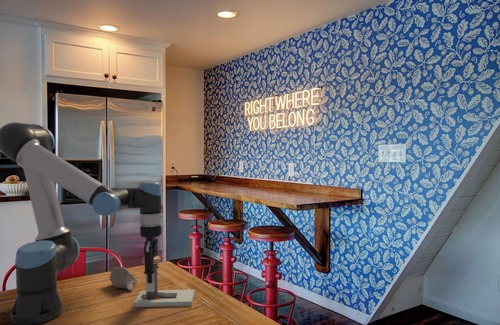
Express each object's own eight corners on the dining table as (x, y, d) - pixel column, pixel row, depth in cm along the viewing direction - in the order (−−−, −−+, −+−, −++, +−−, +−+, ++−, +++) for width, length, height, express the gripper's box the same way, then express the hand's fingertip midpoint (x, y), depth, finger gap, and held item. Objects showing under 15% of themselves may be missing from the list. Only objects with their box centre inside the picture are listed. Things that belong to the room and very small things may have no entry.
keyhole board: (133, 307, 136) (133, 302, 136) (141, 294, 148) (141, 290, 148) (191, 305, 137) (191, 301, 137) (194, 293, 149) (194, 289, 149)
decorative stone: (124, 293, 149) (123, 272, 149) (107, 284, 160) (107, 264, 160) (143, 288, 155) (143, 267, 155) (126, 279, 165) (126, 260, 165)
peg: (141, 301, 139) (140, 260, 139) (144, 294, 145) (144, 255, 145) (159, 300, 139) (158, 260, 139) (162, 294, 146) (161, 255, 145)
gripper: (157, 229, 133) (158, 297, 134) (165, 220, 150) (165, 281, 151) (134, 229, 133) (135, 298, 134) (145, 220, 150) (146, 281, 151)
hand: (151, 289), depth 142 cm, fingers closed on peg, 4 cm apart
